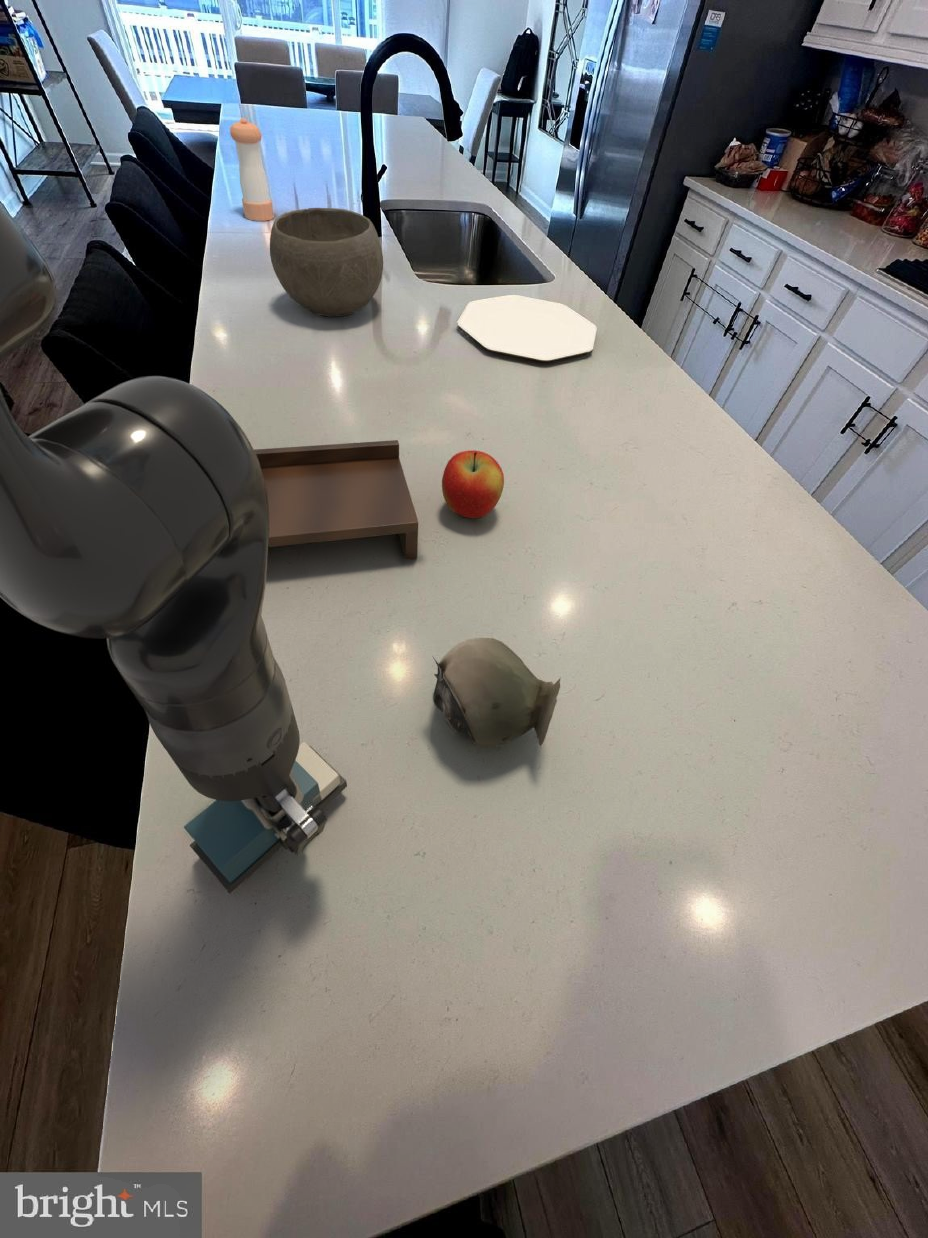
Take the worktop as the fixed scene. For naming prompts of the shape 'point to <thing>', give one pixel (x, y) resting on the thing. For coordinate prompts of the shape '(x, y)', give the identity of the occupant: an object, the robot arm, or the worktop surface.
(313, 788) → the teal eraser block
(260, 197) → the pepper shaker
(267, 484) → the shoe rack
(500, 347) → the plate
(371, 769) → the worktop surface
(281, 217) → the bowl
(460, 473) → the apple
